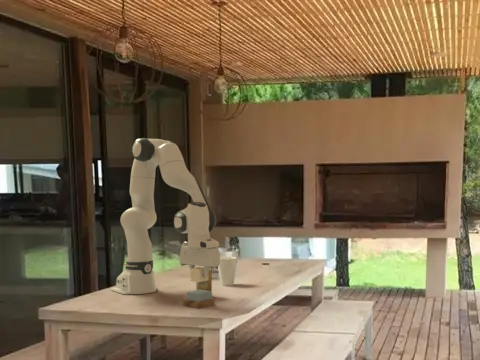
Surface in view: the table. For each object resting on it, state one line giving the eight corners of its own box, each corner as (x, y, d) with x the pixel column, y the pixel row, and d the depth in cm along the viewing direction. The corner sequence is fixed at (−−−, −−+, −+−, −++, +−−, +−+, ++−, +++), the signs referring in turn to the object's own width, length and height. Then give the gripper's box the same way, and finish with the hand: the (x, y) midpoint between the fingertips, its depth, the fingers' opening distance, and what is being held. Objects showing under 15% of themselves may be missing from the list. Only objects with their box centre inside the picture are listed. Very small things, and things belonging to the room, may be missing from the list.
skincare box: (197, 298, 240) (197, 269, 240) (195, 296, 244) (195, 268, 244) (212, 297, 242) (212, 268, 242) (210, 295, 246) (209, 267, 246)
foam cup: (215, 283, 276) (215, 257, 276) (233, 282, 278) (233, 256, 278) (220, 287, 266) (220, 259, 267) (239, 285, 269) (238, 258, 269)
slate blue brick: (187, 299, 225) (187, 292, 225) (199, 296, 231) (199, 289, 231) (199, 301, 221) (199, 293, 221) (211, 298, 226) (211, 291, 226)
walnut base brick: (183, 306, 226) (182, 299, 226) (199, 303, 232) (199, 296, 232) (198, 309, 219) (198, 302, 219) (214, 306, 226) (214, 298, 226)
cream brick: (191, 280, 226) (190, 268, 226) (200, 279, 230) (199, 266, 230) (199, 282, 223) (199, 269, 223) (208, 280, 226) (208, 267, 226)
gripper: (175, 241, 231) (176, 275, 231) (210, 244, 217) (211, 279, 217) (187, 240, 236) (188, 273, 235) (222, 242, 222) (223, 277, 222)
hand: (199, 276), depth 226 cm, fingers closed on cream brick, 5 cm apart
